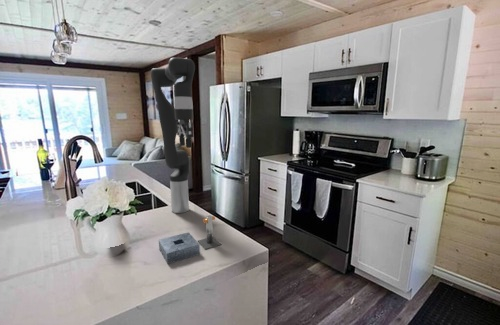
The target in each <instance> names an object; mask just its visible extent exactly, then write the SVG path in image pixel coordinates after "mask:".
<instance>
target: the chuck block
mask: <svg viewBox="0 0 500 325" xmlns="http://www.w3.org/2000/svg"><path fill="white" fill-rule="evenodd" d="M158 249H159V251H160V253H161V254H162V256H163V259H164V260H165V262H166V264H167V265H168V264H169V265H170V264H171V263H175V262H178V261H181V260H186V259H188V258H191V257H192V258H193V257H196V256H198V255H200V253H201V251H200V250H201V249H200V243H199V242H198V240H196V238H194V237H193V235H192V234H191V233H190V232H185V233H179V234H177V235H173V236H168V237H164V238H161V239H160V238H159V239H158Z"/></svg>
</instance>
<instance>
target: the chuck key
mask: <svg viewBox="0 0 500 325" xmlns="http://www.w3.org/2000/svg"><path fill="white" fill-rule="evenodd" d="M215 220H216V217H215V216H214V215H206V216H205V218H203V219H202V221H203V222H202V223H204V224H206V238H207V243H209V244H210V243H213V237H214V234H213V232H214V231H213V221H215Z"/></svg>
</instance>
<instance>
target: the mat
mask: <svg viewBox="0 0 500 325" xmlns="http://www.w3.org/2000/svg"><path fill="white" fill-rule="evenodd" d="M197 242H198V243H199V246H201V247H202V248H203V249H204V250H209V249H213V248H216V247H220V246H222V243H221V242H220V241H219V240H218V239H216V237H215V236H213V243H210V244H209V243H207V237H206V238H202V239H198V240H197Z"/></svg>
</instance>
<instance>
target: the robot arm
mask: <svg viewBox="0 0 500 325" xmlns="http://www.w3.org/2000/svg"><path fill="white" fill-rule="evenodd" d="M167 64H168V65H167V66H166V67H155V68H154V67H153V68H151V70H150V78H151V83H152V84H151V85H152V87H153V91H154V95H155V99H156V106H157V112H158V119H159V125H160V128H161V134H162V140H163V151H164V160H165V163H166V166H167V167H168V168H169V169H170V170H171V169H172V170H174V171H173V172H172V173H171V174H170V175H169V185H170V187H169V190H170V203H171V212H172V213H175V214H183V213H186V212H188V211H190V202H189V200H190V199H189V181H188V179H189V178H188V177H189V173H190V159H189V154H188V152H187V151H186V150H184V149H177V145H176V137H177V136H178V138H179V139H178V140H179V141H178V142H179V146H181V147H184V146H185V148H187V149H189V148H190V149H191V148H192V138H194V123H193V122H191V120H194V105H193V96H192V95H193V94H192V86H193V79H194V74H195V70H196V65H195V64H196V63H195V62H194V60H192V59H191V58H187V57H186V58H185V57H171V58H169V60H168V63H167ZM182 77H185V79H184V80H183V81H178V80H180V79H181V78H182ZM170 87H173V93H174V94H173V96H174V97H173V99H174V101H173V104H174V105H173V104H172V103H171V102H170V101H169V100H168V98H167V97H166V96H165V95H164V92H163V90H162V88H170Z"/></svg>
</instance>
